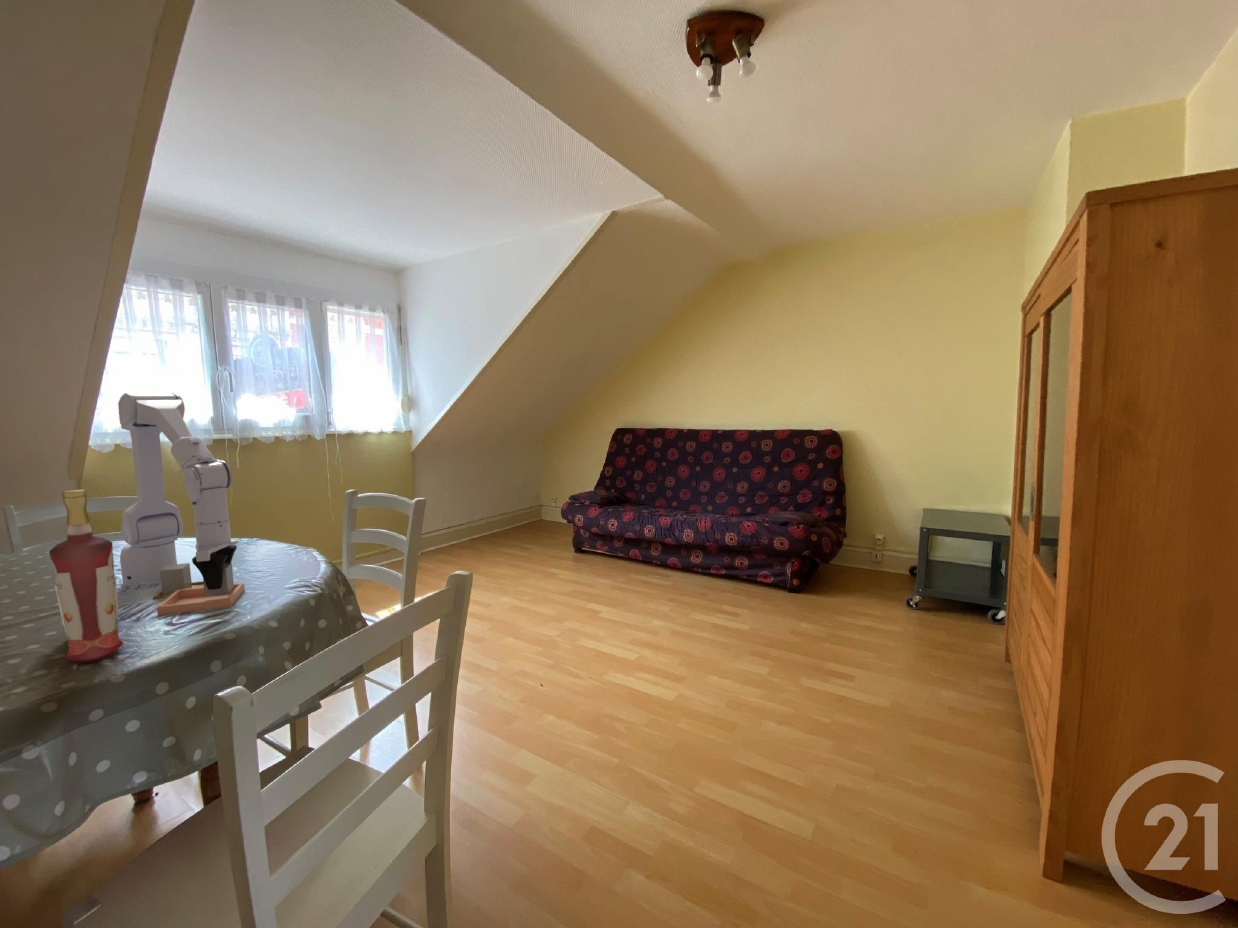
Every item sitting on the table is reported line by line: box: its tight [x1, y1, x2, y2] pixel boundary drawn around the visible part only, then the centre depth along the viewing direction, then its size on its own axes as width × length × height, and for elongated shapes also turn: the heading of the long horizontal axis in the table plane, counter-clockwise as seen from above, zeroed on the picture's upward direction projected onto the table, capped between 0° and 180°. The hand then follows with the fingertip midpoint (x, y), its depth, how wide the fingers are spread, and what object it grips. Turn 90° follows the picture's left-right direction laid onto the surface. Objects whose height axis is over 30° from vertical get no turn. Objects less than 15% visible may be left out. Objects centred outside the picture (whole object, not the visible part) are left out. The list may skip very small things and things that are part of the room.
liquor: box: [48, 489, 124, 664], centre depth 89 cm, size 7×7×28 cm
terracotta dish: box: [156, 582, 246, 617], centre depth 113 cm, size 12×10×2 cm
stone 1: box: [160, 562, 193, 595], centre depth 119 cm, size 4×4×6 cm
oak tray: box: [151, 580, 204, 601], centre depth 120 cm, size 12×8×1 cm, turn 111°
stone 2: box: [202, 562, 235, 597], centre depth 114 cm, size 4×4×6 cm
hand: (218, 585), depth 114 cm, fingers closed on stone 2, 4 cm apart
